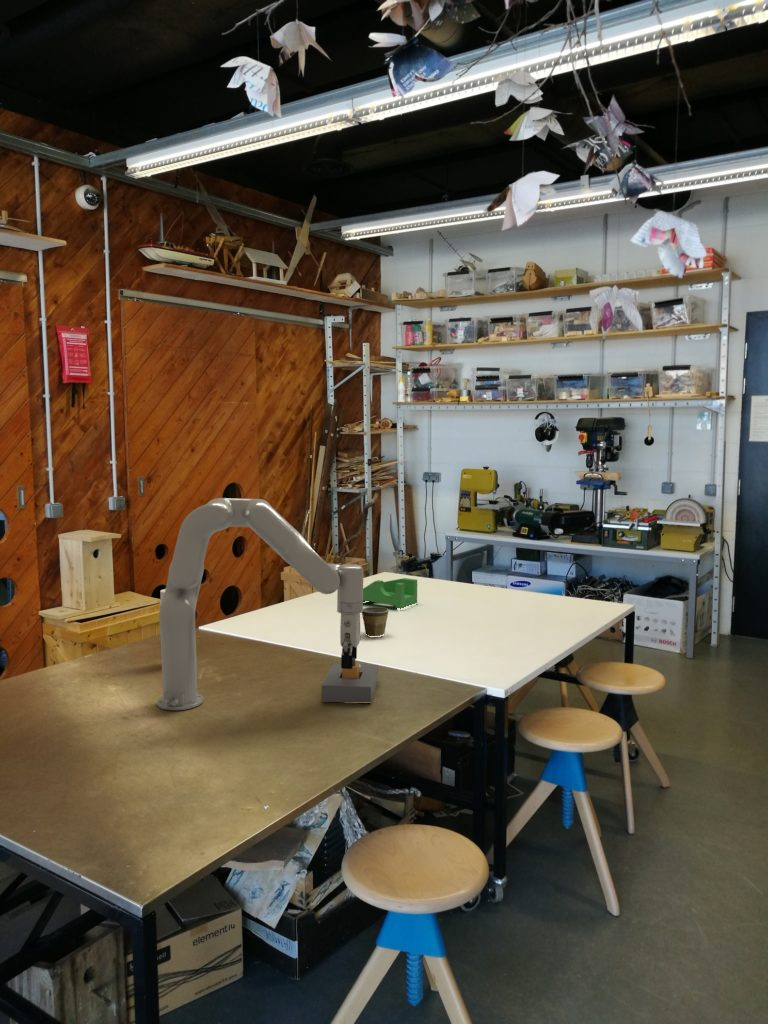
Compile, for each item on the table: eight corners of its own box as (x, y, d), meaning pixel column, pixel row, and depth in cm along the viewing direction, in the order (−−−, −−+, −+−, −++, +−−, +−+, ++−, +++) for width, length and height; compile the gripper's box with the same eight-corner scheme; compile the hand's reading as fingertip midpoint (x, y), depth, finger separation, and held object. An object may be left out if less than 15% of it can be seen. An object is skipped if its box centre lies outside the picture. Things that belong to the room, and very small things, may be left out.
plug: (357, 690, 224) (357, 661, 223) (342, 690, 225) (342, 660, 224) (359, 685, 229) (359, 656, 228) (344, 685, 229) (344, 656, 228)
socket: (370, 704, 216) (370, 684, 216) (322, 702, 218) (321, 682, 217) (377, 681, 236) (377, 662, 236) (333, 679, 238) (332, 661, 237)
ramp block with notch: (417, 606, 339) (417, 579, 338) (400, 612, 328) (400, 584, 327) (372, 599, 352) (372, 574, 351) (355, 605, 341) (355, 578, 340)
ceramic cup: (392, 637, 286) (392, 611, 285) (367, 640, 283) (367, 613, 281) (379, 629, 298) (379, 604, 297) (355, 631, 295) (355, 606, 293)
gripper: (359, 613, 215) (358, 673, 217) (366, 600, 232) (365, 655, 234) (332, 612, 216) (331, 671, 218) (341, 599, 233) (340, 654, 235)
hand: (349, 663), depth 226 cm, fingers open, 9 cm apart
